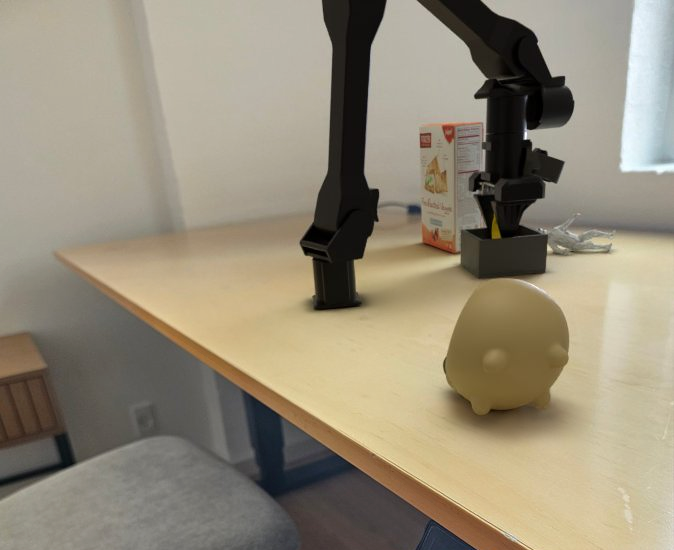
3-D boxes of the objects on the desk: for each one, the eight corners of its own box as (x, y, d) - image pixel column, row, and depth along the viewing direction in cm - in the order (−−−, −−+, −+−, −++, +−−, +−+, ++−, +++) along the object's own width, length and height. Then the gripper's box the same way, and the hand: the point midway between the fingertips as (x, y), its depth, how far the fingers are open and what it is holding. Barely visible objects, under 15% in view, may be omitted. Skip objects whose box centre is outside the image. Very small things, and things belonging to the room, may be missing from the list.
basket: (545, 272, 98) (548, 234, 96) (478, 278, 98) (479, 240, 96) (521, 258, 108) (523, 224, 106) (460, 264, 108) (460, 229, 106)
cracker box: (420, 243, 128) (417, 124, 119) (448, 239, 129) (448, 121, 120) (452, 254, 116) (452, 122, 107) (482, 250, 117) (485, 119, 108)
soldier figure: (608, 261, 106) (536, 240, 107) (597, 276, 111) (528, 256, 112) (619, 221, 108) (548, 200, 109) (607, 238, 113) (540, 218, 114)
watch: (486, 248, 105) (487, 209, 102) (503, 247, 105) (505, 207, 102) (499, 255, 99) (501, 214, 97) (517, 253, 99) (519, 212, 97)
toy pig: (547, 433, 58) (521, 331, 62) (605, 367, 47) (569, 248, 51) (439, 443, 58) (420, 338, 61) (472, 378, 46) (446, 256, 50)
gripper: (587, 128, 87) (576, 250, 94) (538, 128, 103) (532, 231, 110) (504, 135, 86) (499, 257, 93) (468, 134, 103) (466, 237, 110)
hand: (501, 244), depth 102 cm, fingers closed on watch, 6 cm apart
